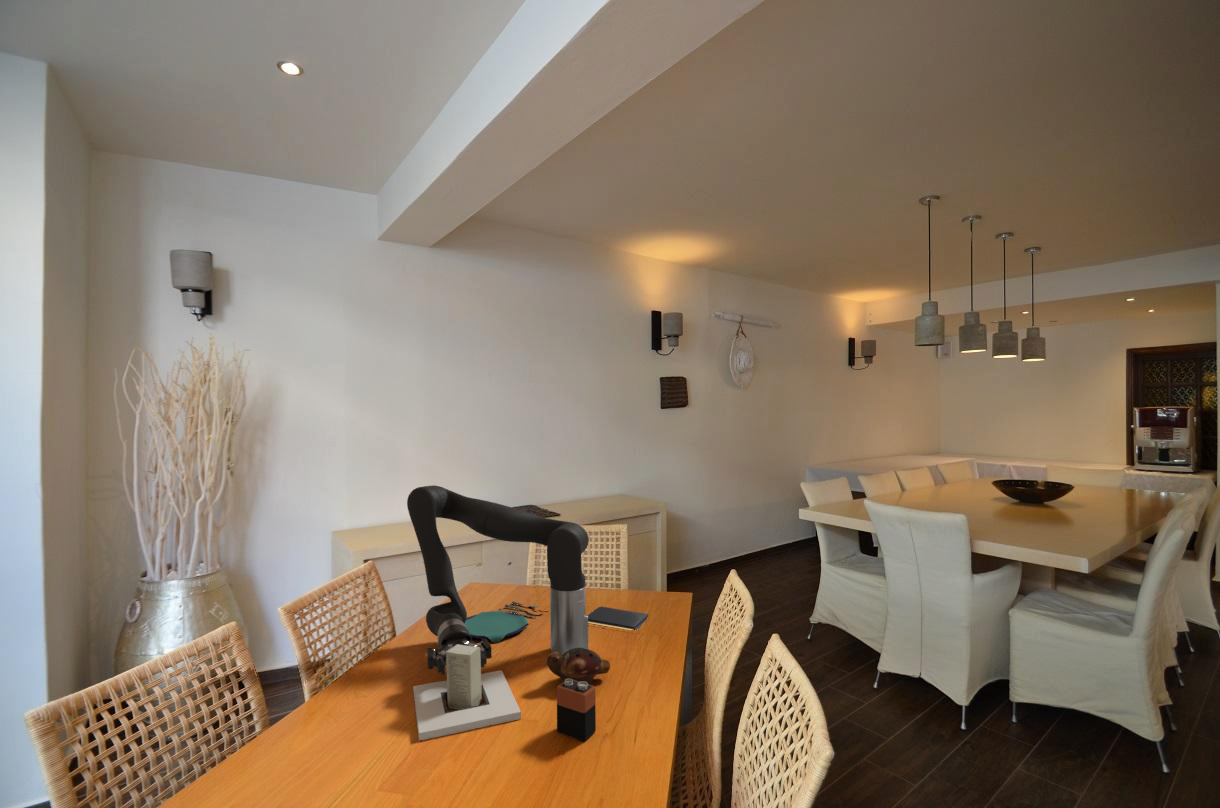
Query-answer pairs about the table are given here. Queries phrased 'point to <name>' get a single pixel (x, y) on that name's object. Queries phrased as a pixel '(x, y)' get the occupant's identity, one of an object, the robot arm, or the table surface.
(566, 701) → the battery
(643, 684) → the table surface
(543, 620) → the table surface
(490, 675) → the slot board
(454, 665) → the skincare box
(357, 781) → the table surface
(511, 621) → the teal flat piece
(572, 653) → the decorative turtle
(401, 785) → the table surface
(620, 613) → the dark hardcover book
